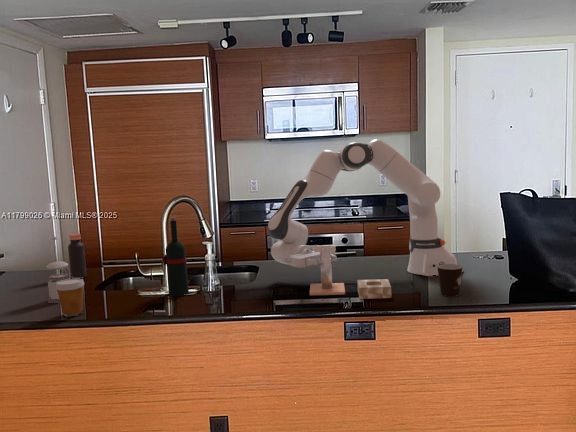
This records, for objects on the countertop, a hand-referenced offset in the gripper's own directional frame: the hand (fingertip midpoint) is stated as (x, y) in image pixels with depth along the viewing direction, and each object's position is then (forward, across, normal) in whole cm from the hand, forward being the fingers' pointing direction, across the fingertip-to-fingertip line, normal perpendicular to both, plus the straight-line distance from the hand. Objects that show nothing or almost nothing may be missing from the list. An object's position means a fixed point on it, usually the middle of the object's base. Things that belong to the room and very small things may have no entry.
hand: (326, 260), depth 203 cm
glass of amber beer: (-47, -79, +12) cm, 93 cm away
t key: (0, 0, +10) cm, 11 cm away
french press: (-71, -75, +12) cm, 104 cm away
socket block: (+17, +7, +12) cm, 21 cm away
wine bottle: (-43, -41, +12) cm, 60 cm away
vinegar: (-104, -56, +12) cm, 119 cm away
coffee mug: (+38, +26, +12) cm, 47 cm away
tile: (0, 0, +12) cm, 12 cm away
